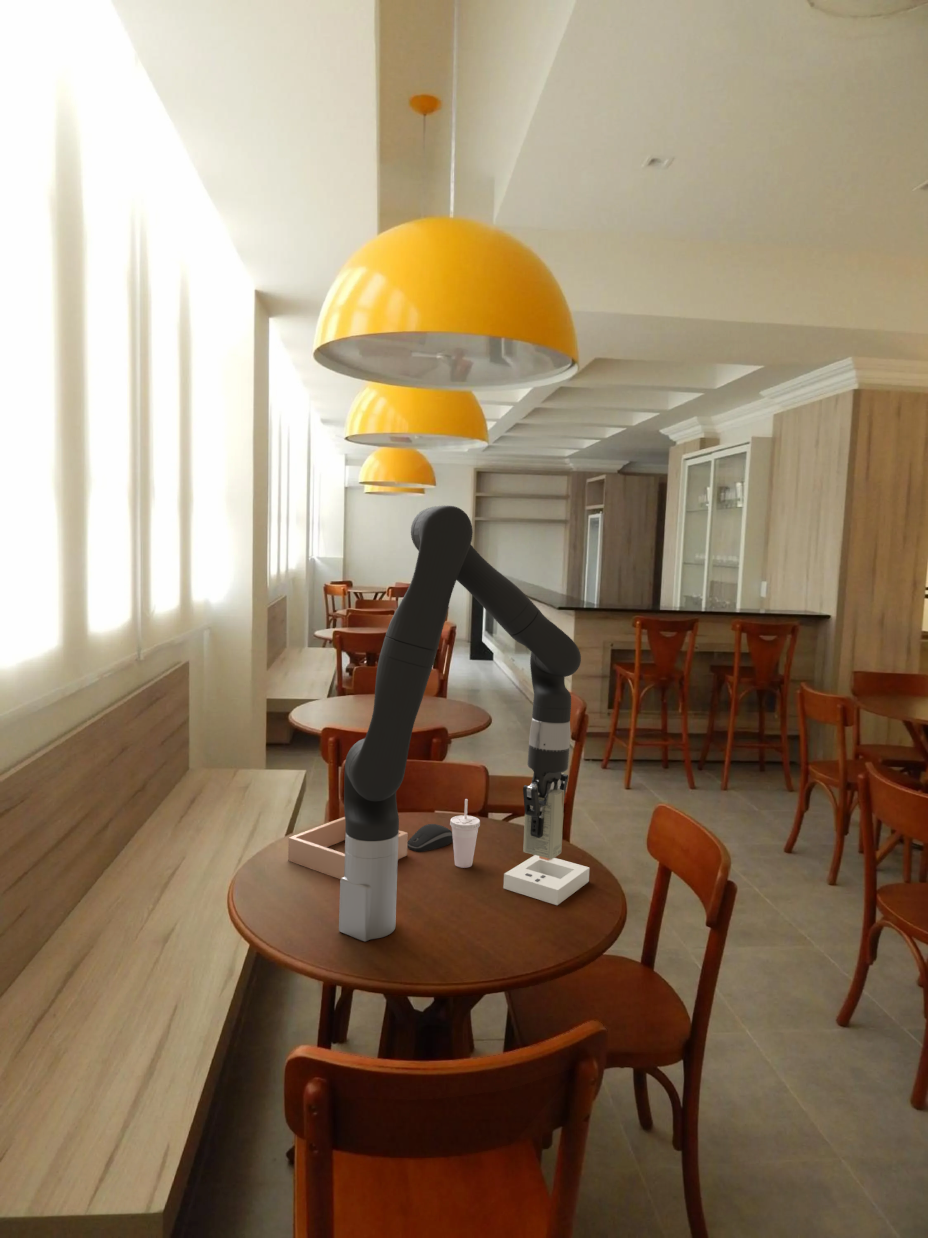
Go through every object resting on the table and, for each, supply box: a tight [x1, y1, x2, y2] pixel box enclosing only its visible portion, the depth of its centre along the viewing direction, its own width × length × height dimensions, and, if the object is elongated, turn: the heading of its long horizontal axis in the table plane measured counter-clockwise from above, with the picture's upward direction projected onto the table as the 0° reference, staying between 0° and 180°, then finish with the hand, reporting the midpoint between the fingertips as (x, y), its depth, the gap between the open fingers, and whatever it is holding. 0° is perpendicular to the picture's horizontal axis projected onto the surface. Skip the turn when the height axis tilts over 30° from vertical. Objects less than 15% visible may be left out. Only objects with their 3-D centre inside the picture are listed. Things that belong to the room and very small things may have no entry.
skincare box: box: [522, 789, 565, 859], centre depth 148 cm, size 6×4×12 cm
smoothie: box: [449, 798, 481, 869], centre depth 168 cm, size 6×6×14 cm
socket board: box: [502, 855, 590, 906], centre depth 160 cm, size 14×12×4 cm
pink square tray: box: [287, 816, 409, 880], centre depth 170 cm, size 18×17×5 cm
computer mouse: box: [407, 823, 453, 853], centre depth 180 cm, size 7×12×4 cm, turn 138°
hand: (542, 832), depth 148 cm, fingers closed on skincare box, 4 cm apart
